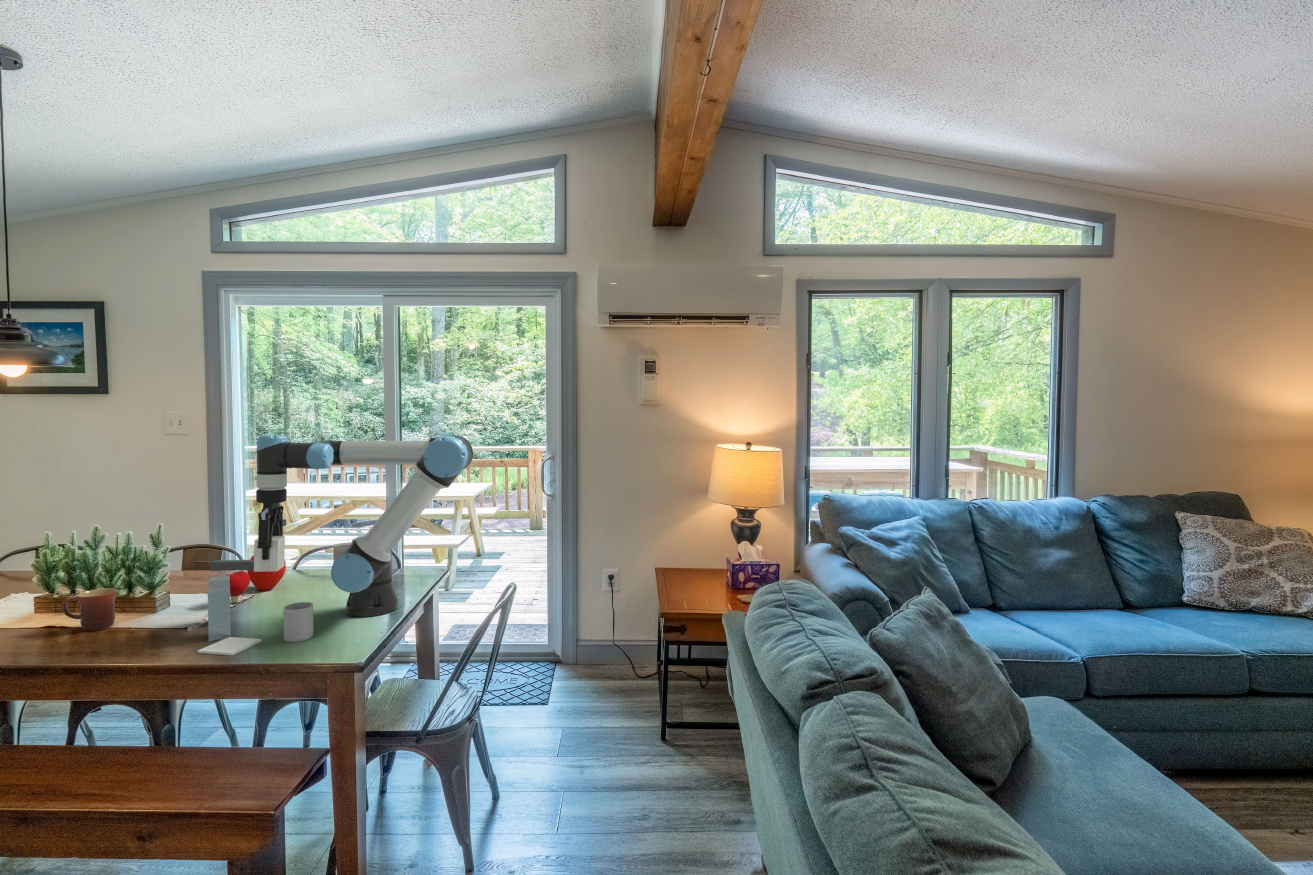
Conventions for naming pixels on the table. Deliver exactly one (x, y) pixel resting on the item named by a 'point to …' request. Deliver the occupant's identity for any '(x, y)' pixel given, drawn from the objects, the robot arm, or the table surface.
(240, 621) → the table surface
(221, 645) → the pad
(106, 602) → the mug
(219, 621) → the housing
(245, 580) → the light bulb
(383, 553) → the robot arm
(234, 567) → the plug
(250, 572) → the apple
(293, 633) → the cup
